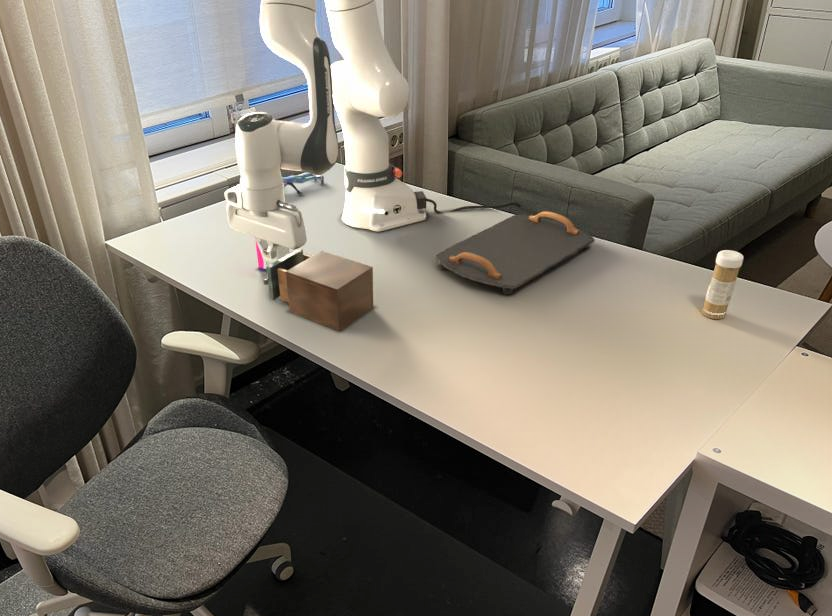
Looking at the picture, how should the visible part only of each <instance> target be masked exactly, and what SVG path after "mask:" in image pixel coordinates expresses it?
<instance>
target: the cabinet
mask: <svg viewBox="0 0 832 616" xmlns="http://www.w3.org/2000/svg"><path fill="white" fill-rule="evenodd" d="M373 270H374V269H373V266H370V265H368V264H365V263H361V262H359V261H356V260H355V261H354V260H353V259H349V258H347V257H342V256H340V255H336V254H333V253H330V252H327V251H324V250H321V251H319V252H317V253H315V254H313V255H312V257H310V258H308V259H307V260H305V261H303V262H301V263H300V264H298V265H296V266H294V267H293V268H291V269H289V270H287V271H286V279H287V290H288V300H289V302H288V309H289V313H291V314H295V315H297V316H300V317H302V318H304V319H307V320H309V321H312V322H315V323H317V324H319V325H322V326H325V327H328V328H330V329H333V330H336V331H338V332H340V331H342V330H344V329H345V328H347V326H349V325H350V324H352V323H353V322H355V321H356V320H358V319H359V318H361V317H362V316H363V315H365V314H366V313H367V312H369V311H370V310H372V309H373V308H374V271H373Z"/></svg>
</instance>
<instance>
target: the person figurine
mask: <svg viewBox="0 0 832 616" xmlns="http://www.w3.org/2000/svg"><path fill="white" fill-rule="evenodd" d="M282 178H283V187H287V186H291V188H293V189H294V190H295V191H296V194H297V195H299V196H302V195H303V192H301V191H300V190H299V189H298V188H297V187H296V185H295V184H304V183H308V182H311V181H314V182H317V181H320V184H321V185H322V186H323V185H324V183H325V177H324V175H323V174H322V175H314V174H310V173H304V174H301V175H299V174H298V175H297V174H296V175H293V174H291V175H289V176H287V177H283V176H282Z"/></svg>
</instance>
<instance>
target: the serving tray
mask: <svg viewBox="0 0 832 616" xmlns="http://www.w3.org/2000/svg"><path fill="white" fill-rule="evenodd" d="M595 241H596V240H595V238H594V236H593V235H591V234H589V233H587V232H585V231H584V230H582V229H580V228H578V227H575V225H574V224H573V222H572V221H571V220H570V219H569V218H567V217H566V216H564V215H563V214H559V213H557V212H553V211H544V210H543V211H540V212H538V213H537V214H535V215H533V214H530V215H528V214H514V215H512V216H510V217H508V218H505V219H504V220H502V221H499V222H497V223H496V224H494V225H491V226H490V227H487V228H485V229H483V230H482V231H479V232H477V233H475V234H472V235H471V236H470V237H468V238H466V239H463V240H461V241H460V242H457V243H455V244H453V245H452V246H450V247H447V248H445V249H444V250H442V251H439V252H438V253H436V255H434V259H435V261H437V263H438V267H439V268H440V270H448V271H450V272H453V274H454V273H455V274H456V275H458V276H460V277H462V278H465V279H467V280H470V281H473V282H477V283H481V284H484V285H487V286H492V287H496V288H502V293H503V295H504V296H510V295H511V294H512V293H513V289H517V288H519V287H521V286H522V285H524V284H526V283H528V282H530V281H531V280H533V279H534V278H536V277H538V276H540V275H542V274H544V272H546V271H547V270H549V269H550V268H552V267H555V266H557V265H559V264H560V263H562V262H563V261H565V260H566V259H568V258H570V257H572V256H575V255H576V253H578V252H579V251H581V250H587V249H588V248H589V246H590V245H591V244H593V243H594V242H595Z"/></svg>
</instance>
